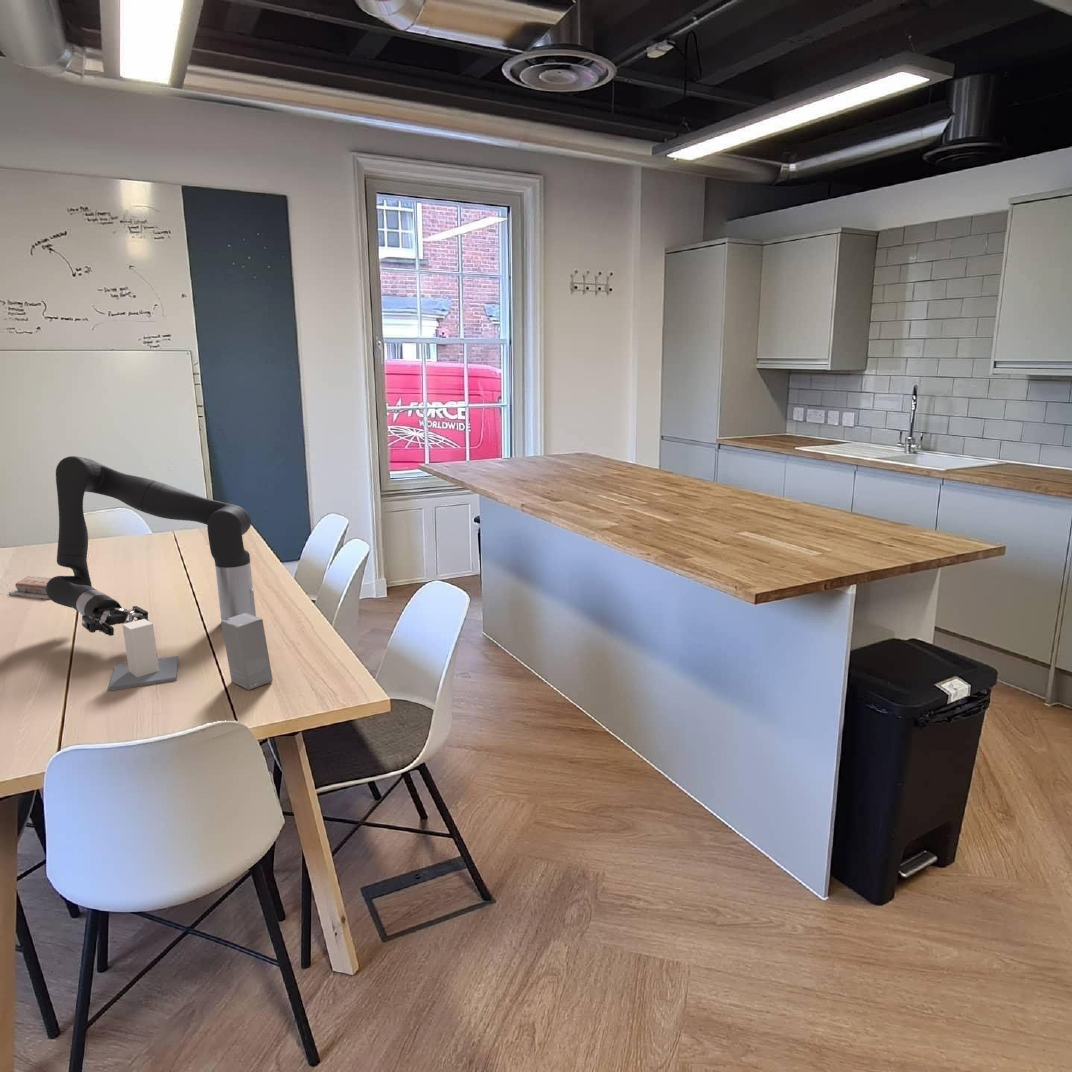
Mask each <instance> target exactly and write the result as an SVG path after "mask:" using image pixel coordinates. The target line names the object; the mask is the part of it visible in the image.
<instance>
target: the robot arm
mask: <svg viewBox="0 0 1072 1072" xmlns="http://www.w3.org/2000/svg"><path fill="white" fill-rule="evenodd" d="M55 468H56V469H55V485H56V493H57V504H58V506H57V507H58V541H57V550H56V563H57V565H58V566H60V567H63V568H68V569H71V570H72V573H73V575H56V576H54V577H52V579H50V580H49V581H48V583H47V585H46V593H47V595H48V597H49V598H50V599H51V600H50V601H52V602H53V603H55V604H58V605H60V606H64V607H67V608H71V609H74V610H75V611H76V612H78V613H80V615H81V626H82V627H83V628H85V630H87V631H88V632H89V633H91V634H92V633H96V631H98V632H100V633H103V634H104V635H108V636H109V637H111V636H114V635H115V634H114V633H115V629H114V626H115V625H122V624H126V623H130V622H134V621H138V620H142V619H146V620H147V621H149V622H150V620H149V612H148V611H147V610H145V609H143V608H141V607H139V606H138V605H133V606H132V608H131V609H126V608H124V607H122V606H121V603H119V601H117V600H116V599H114V598H112V597H110V596H109V595H108V594H106V593H104V592H101V591H99V590H98V589H96V588H94V587H93V586H92V581H91V577H90V576H91V575H90V572H89V568H88V548H89V533H88V527H87V523H86V519H85V514H84V513H85V512H84V496H85V493H86V492H87V493H92V494H93V493H94V494H97V495H102V496H106V497H111V498H113V499H116V500H118V501H120V502H122V503H124V504H125V505H127V506H129V507H131V508H133V509H135V510H138V511H140V512H142V513H145V514H148V515H151V516H154V517H157V518H161V519H167V520H176V521H186V522H187V521H189V522H196V523H200V524H204V525H206V526H207V527H206V528H207V536H208V537H207V538H208V541H209V542H208V544H209V549H210V554H211V556H212V558H213V559H214V567H215V573H216V582H217V583H216V585H217V593H218V594H217V595H218V601H219V610H220V611H219V613H220V620H224V619H228V618H231V617H234V616H237V615H240V614H243V613H248V614H250V615H253V616H255V617H257V613H256V604H255V603H256V601H255V593H254V585H253V576H252V566H251V556H250V552H249V551H248V550H246V549H245V546H244V540H243V539H244V538H243V535H245V534H246V533H247V532H248V531H249V530H250V528H251V526H252V518H251V516H250V514H249V512H248V511H247V510H245V508H243V507H242V506H239V505H237V504H232V503H229V502H227V503H226V502H223V501H217V500H214V499H210V498H206V497H203V496H200V495H197V494H194V493H192V492H189V491H186V490H183V489H180V488H177V487H175V486H172V485H169V484H166V483H163V482H160V481H157V480H153V479H150V478H146V477H142V476H137V475H131V474H126V473H123V472H120V471H118V470H116V469H113V468H111V467H108V466H107V465H104V464H102V463H100V462H97V461H95V460H93V459H91V458H87V457H81V456H74V455H71V456H66V457H64V458H63V459H61V460H60V461H59V462H58V463H57V466H56V467H55ZM135 618H136V619H135Z"/></svg>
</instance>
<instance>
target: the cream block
mask: <svg viewBox="0 0 1072 1072" xmlns="http://www.w3.org/2000/svg"><path fill="white" fill-rule="evenodd" d="M121 625H122V631H123V637H124V645H125V652H126V659H127V663H128V666H129V672H131V673H132V674H133V675H135V676H136V677H140V676H144V675H147V674H150V673H154V672H157V671H159V665H158V659H159V658H158V652H157V644H156V637H155V630H154V623H153V622H151V621H150V620H149V621H147V620H146V619H142V620H138V621H134V622H130V623H126V624H121Z"/></svg>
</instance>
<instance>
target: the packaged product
mask: <svg viewBox="0 0 1072 1072" xmlns="http://www.w3.org/2000/svg"><path fill="white" fill-rule="evenodd" d="M52 578H53V577H52ZM52 578H50V577H43V576H34V575H33V576H32V575H31V576H30V575H29V576H26V577H24V578H23V579H22V580H19V581H17V582H16V583H15V588H16V589H15V590H12V591H9V592H8V594H9V596H10V595H12V596H19V595H20V597H26V598H32V599H41V598H43V599H44V600H50V601H52V600H51V599H50V598H49V597H48V595H47V593H46V585H47V583H48V581H49V580H50V579H52Z"/></svg>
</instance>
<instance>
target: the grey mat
mask: <svg viewBox="0 0 1072 1072" xmlns="http://www.w3.org/2000/svg"><path fill="white" fill-rule="evenodd" d="M179 660H180V659H179V655H175V656H167V657H162V658H158V665H159V671H157V672H154V673H150V674H147V675H144V676H140V677H136V676H135V675H133V674H132V673H131V672H129V666H128V662H125V663H120V664H115V665H114V668H113V672H112V674H111V678H110V682H109V684H108V691H109V692H110V691H111V692H112V691H116V690H117V691H118V690H123V689H129V688H135V687H136V688H137V687H142V686H148V685H150V686H151V685H156V684H161V683H167V682H176V681H177V677H178V668H179Z"/></svg>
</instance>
